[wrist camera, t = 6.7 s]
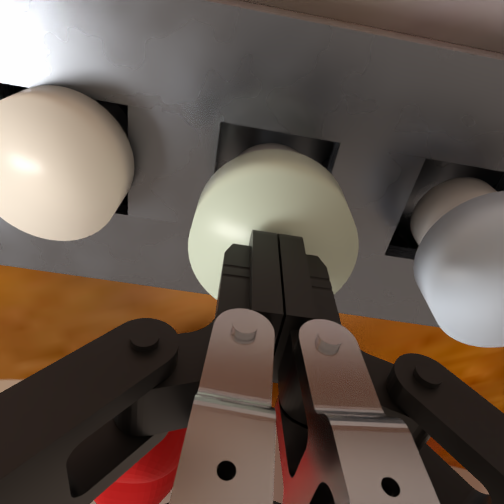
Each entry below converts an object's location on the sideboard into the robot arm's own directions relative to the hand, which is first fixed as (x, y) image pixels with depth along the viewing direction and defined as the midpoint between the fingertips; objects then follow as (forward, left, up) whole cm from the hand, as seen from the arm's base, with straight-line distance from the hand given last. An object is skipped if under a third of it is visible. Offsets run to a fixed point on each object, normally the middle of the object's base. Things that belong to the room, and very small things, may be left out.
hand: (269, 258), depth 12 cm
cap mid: (0, 0, -5) cm, 5 cm away
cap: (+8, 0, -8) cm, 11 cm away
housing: (0, 0, -11) cm, 11 cm away
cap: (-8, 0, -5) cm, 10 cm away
